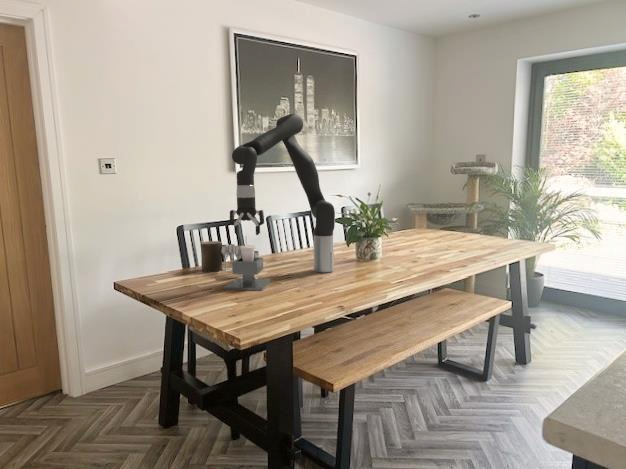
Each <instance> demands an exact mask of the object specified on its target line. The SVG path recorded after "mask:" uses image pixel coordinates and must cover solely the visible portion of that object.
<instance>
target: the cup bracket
mask: <svg viewBox="0 0 626 469" xmlns="http://www.w3.org/2000/svg"><path fill="white" fill-rule="evenodd" d="M232 268H233V273H232V274H233V275H236V274H241V276H242V275H243V277H236V278H234V279H233V280H231V281H230V283H227V284H226V285H225V286H223V287H224V290H229V291H231V290H233V291H235V290H236V291H256V292H257V291H259V292H260V291H264V289H265V288H266V287H267V286H268V285H270V283H272V278H254V274H255V275H258V274H260V273H261V272H262V271H263V270H264V257H259V258H258V257H254V261H253V262H243V260H242V257H239V258H238V259H237V258H236V259H235V260H233V262H232V261H231V269H232Z"/></svg>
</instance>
